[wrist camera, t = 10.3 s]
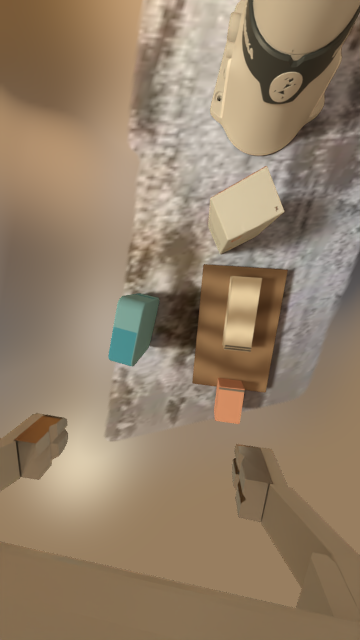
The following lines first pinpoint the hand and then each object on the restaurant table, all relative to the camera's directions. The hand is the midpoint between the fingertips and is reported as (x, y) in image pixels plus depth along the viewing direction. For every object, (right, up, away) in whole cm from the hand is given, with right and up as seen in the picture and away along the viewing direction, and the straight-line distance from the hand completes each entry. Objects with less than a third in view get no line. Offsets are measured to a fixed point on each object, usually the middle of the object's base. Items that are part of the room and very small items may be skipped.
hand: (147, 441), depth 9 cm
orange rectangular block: (+12, -11, +33) cm, 37 cm away
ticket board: (+13, +4, +33) cm, 35 cm away
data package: (-6, +6, +35) cm, 36 cm away
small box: (+12, +24, +29) cm, 39 cm away
